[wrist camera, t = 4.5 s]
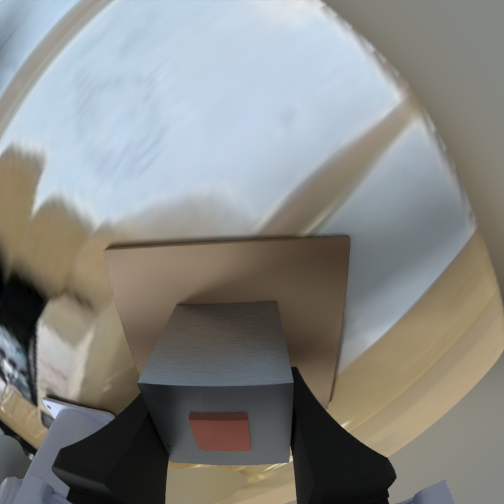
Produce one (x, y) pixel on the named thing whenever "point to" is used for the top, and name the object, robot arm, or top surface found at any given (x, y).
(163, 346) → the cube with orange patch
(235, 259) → the board
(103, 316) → the top surface
